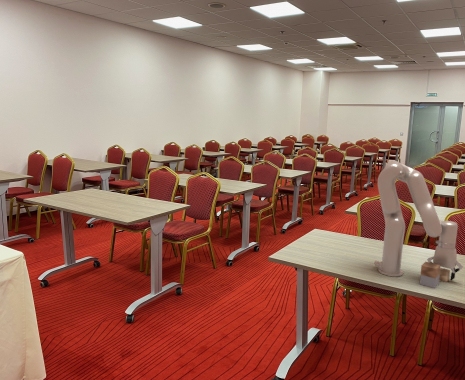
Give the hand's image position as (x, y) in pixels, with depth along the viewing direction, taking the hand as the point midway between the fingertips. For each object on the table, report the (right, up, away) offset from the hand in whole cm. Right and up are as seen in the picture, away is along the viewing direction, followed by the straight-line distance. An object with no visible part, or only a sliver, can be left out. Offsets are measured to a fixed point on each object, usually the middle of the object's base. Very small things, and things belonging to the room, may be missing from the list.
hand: (442, 277), depth 204 cm
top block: (-10, +3, -7) cm, 13 cm away
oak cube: (0, -1, 0) cm, 1 cm away
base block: (-10, -2, -6) cm, 12 cm away
